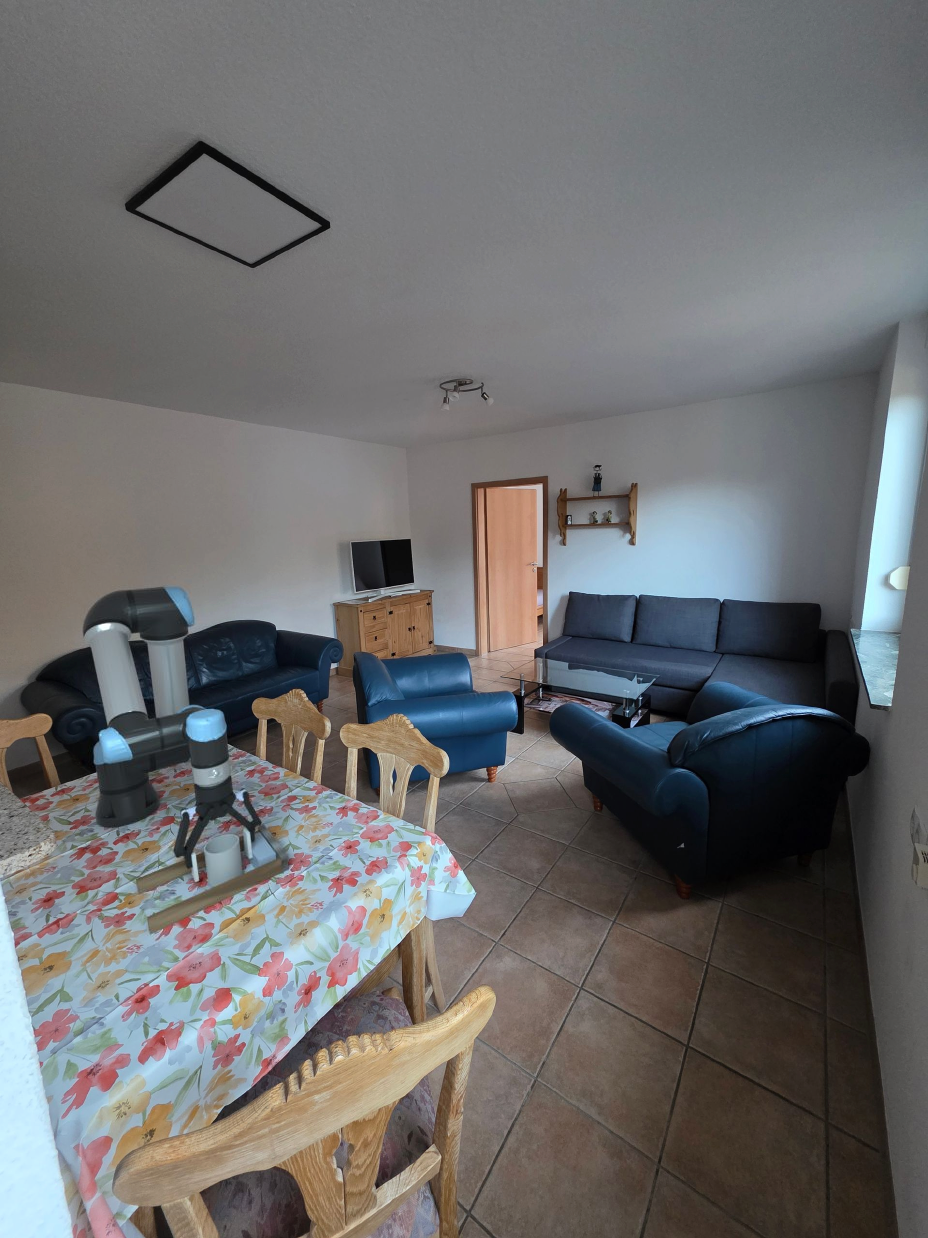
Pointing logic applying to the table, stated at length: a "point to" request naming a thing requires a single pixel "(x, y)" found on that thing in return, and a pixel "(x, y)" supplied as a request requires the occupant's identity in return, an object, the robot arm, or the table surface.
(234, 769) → the table surface
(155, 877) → the channel
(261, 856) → the block
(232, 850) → the cup
